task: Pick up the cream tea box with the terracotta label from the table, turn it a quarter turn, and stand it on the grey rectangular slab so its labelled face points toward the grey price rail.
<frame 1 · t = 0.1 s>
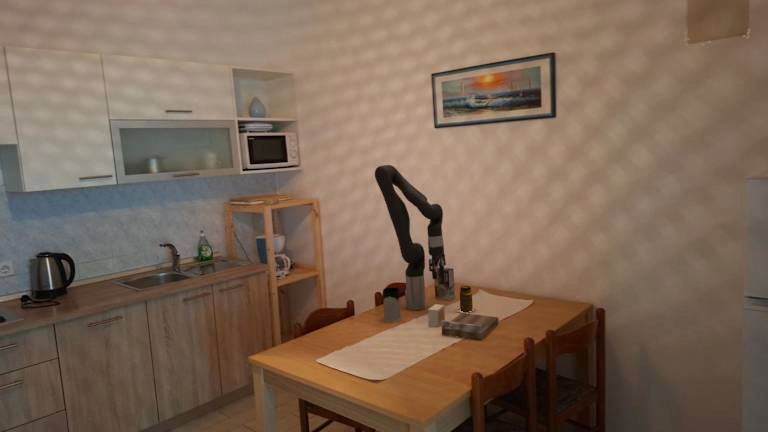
hand: (438, 277, 259), 17 cm above the table, tool pointing down, fingers open, 8 cm apart
condiment: (465, 311, 258), on the table
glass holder: (393, 318, 254), on the table
grey rectangular slab: (470, 329, 233), on the table
coffee box: (445, 298, 281), on the table
tea box: (437, 323, 242), on the table
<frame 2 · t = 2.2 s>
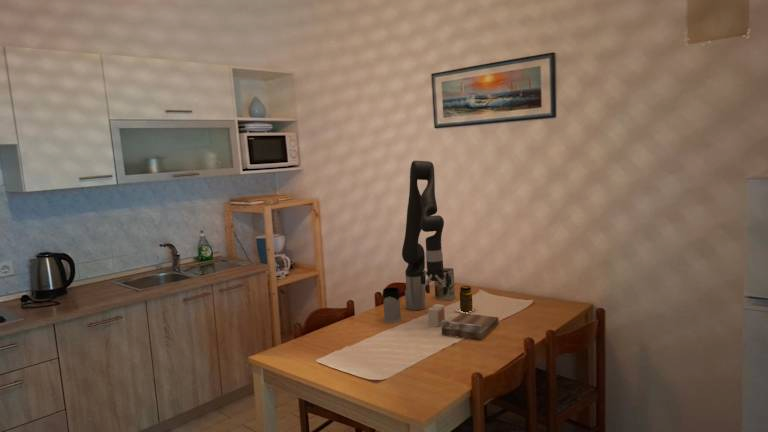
hand: (436, 293, 240), 14 cm above the table, tool pointing down, fingers open, 8 cm apart
nothing on the table moved.
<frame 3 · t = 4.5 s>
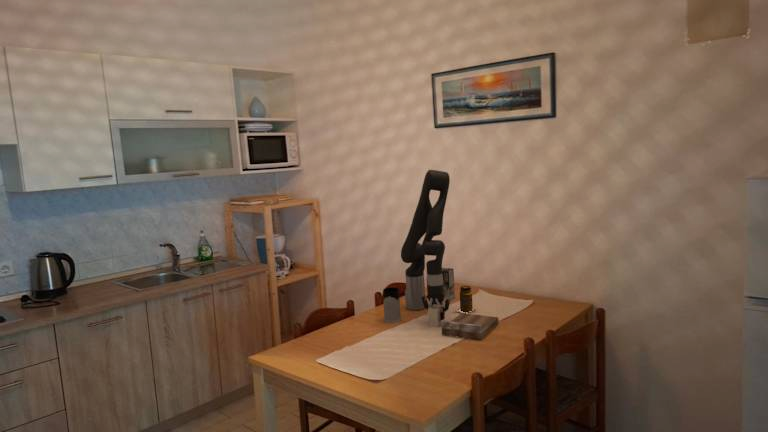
hand: (436, 318, 242), 2 cm above the table, tool pointing down, fingers closed on tea box, 5 cm apart
tea box: (437, 323, 242), on the table, touching gripper
everything else where it was.
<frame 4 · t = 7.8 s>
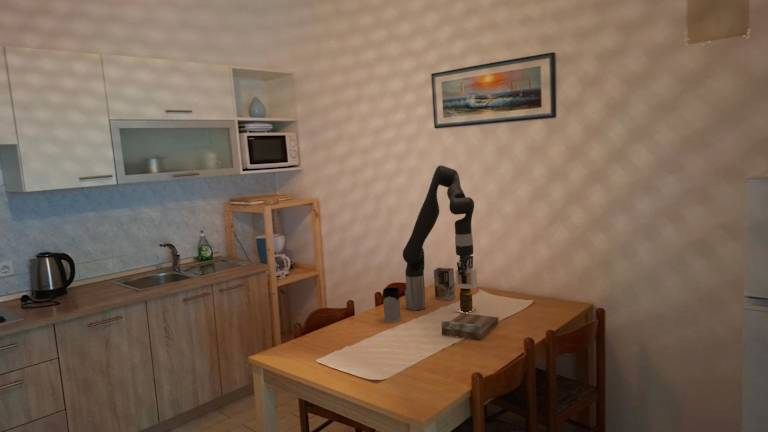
hand: (466, 281, 228), 22 cm above the table, tool pointing down, fingers closed on tea box, 5 cm apart
tea box: (466, 287, 229), point 20 cm above the table, touching gripper
everything else where it was.
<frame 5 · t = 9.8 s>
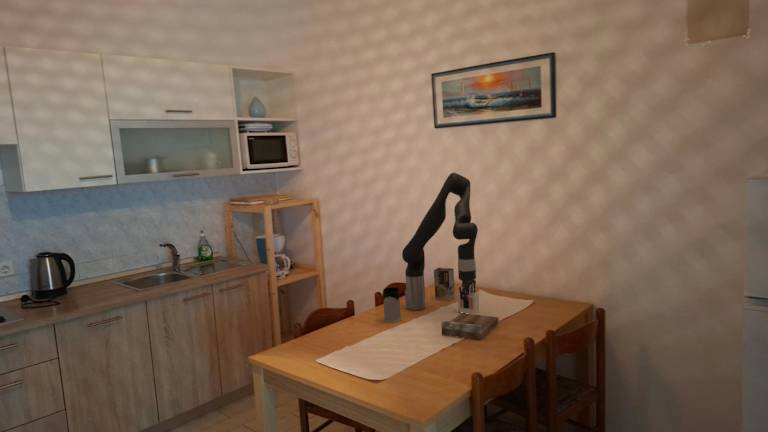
hand: (468, 306, 230), 11 cm above the table, tool pointing down, fingers closed on tea box, 5 cm apart
tea box: (468, 311, 230), point 9 cm above the table, touching gripper
everything else where it was.
when the fingers open (7 cm above the table, at t = 11.5 s): tea box drops 1 cm, resting on grey rectangular slab.
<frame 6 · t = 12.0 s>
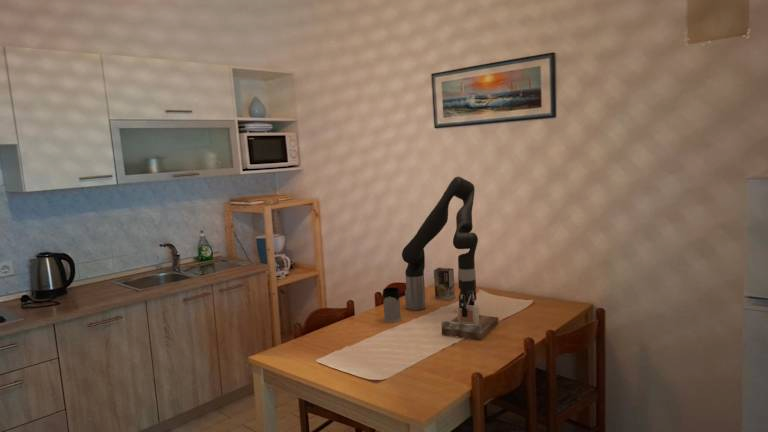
hand: (468, 313, 230), 8 cm above the table, tool pointing down, fingers open, 8 cm apart
tea box: (468, 324, 230), point 3 cm above the table, touching grey rectangular slab
everything else where it was.
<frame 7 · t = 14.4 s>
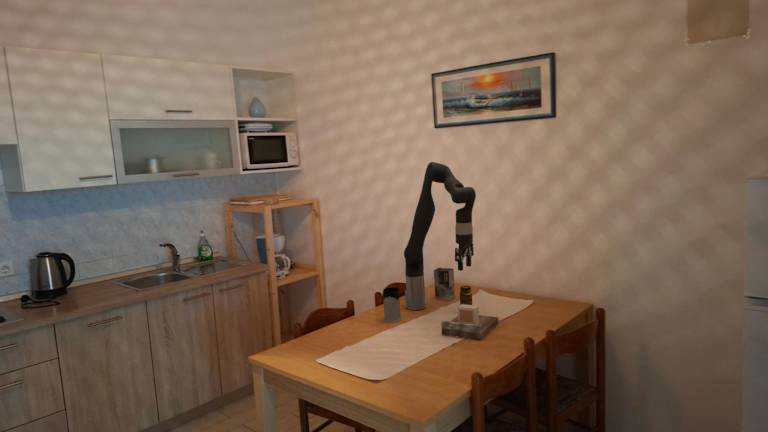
hand: (464, 268, 233), 27 cm above the table, tool pointing down, fingers open, 8 cm apart
nothing on the table moved.
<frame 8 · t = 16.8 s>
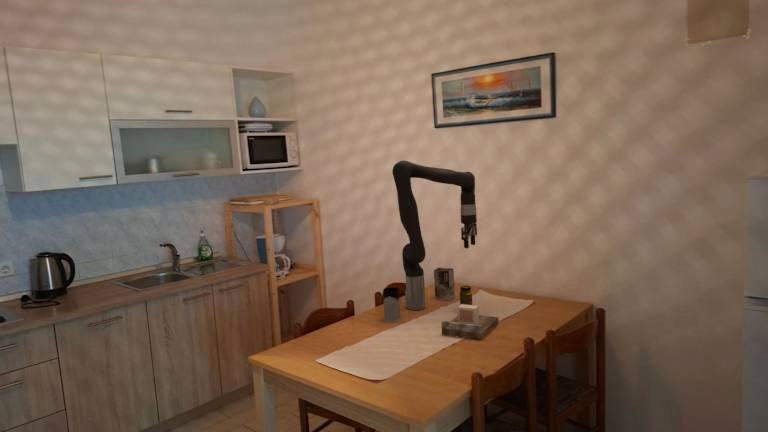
hand: (469, 246, 254), 32 cm above the table, tool pointing down, fingers open, 8 cm apart
nothing on the table moved.
at the end: tea box inside the target area (0.1 cm from its centre), point 3.0 cm above the table; tea box tilted 0°; the gripper is holding nothing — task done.
